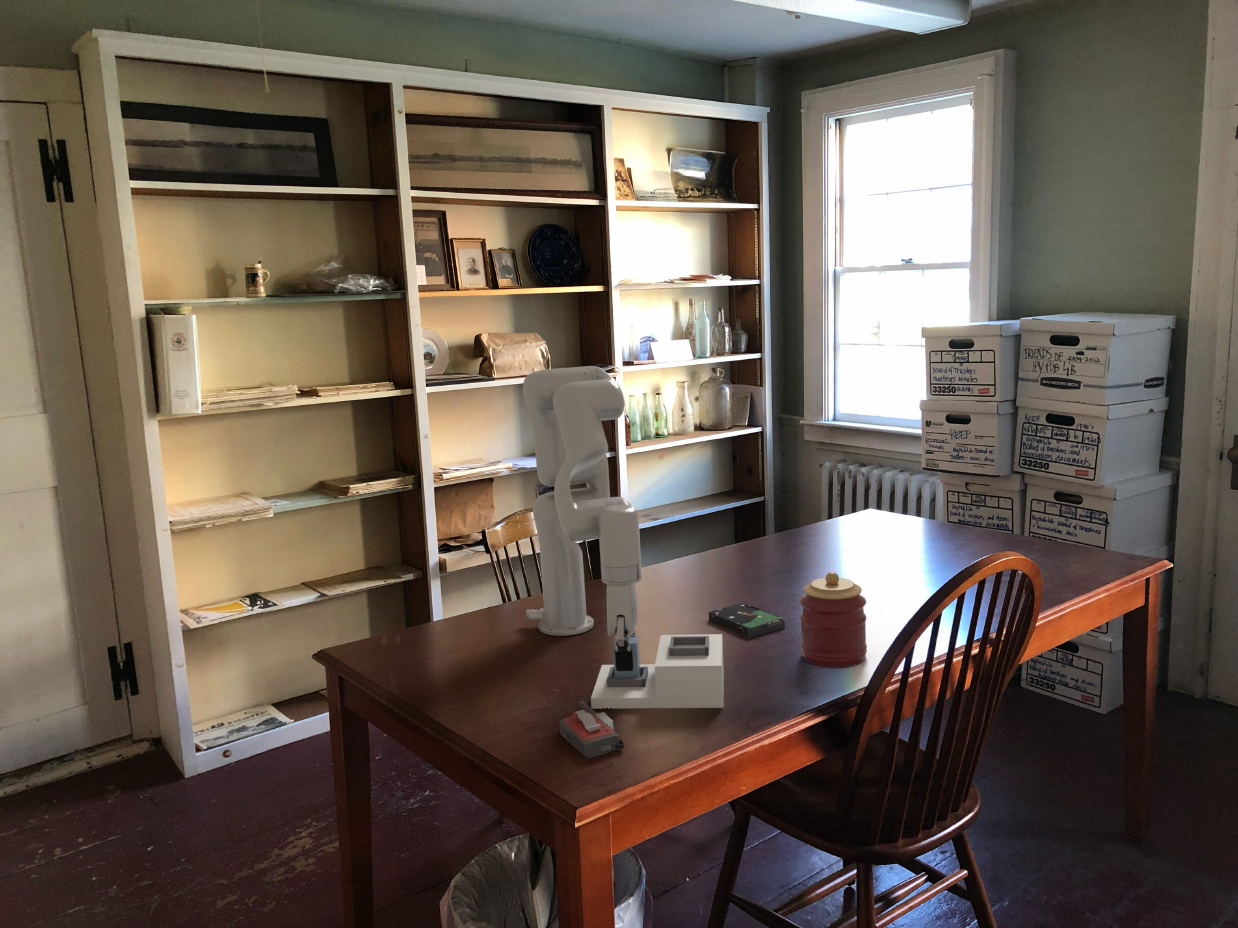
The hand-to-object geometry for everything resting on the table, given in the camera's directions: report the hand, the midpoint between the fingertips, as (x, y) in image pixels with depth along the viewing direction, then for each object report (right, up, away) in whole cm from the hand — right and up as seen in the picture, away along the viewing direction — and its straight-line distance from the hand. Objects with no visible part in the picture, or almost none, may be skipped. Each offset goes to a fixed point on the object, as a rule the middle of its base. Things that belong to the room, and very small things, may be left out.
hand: (626, 662), depth 182 cm
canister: (+42, -1, +12) cm, 43 cm away
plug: (0, -4, +1) cm, 4 cm away
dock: (+6, -5, 0) cm, 8 cm away
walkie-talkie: (-7, -9, -16) cm, 19 cm away
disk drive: (+27, +1, +34) cm, 43 cm away
